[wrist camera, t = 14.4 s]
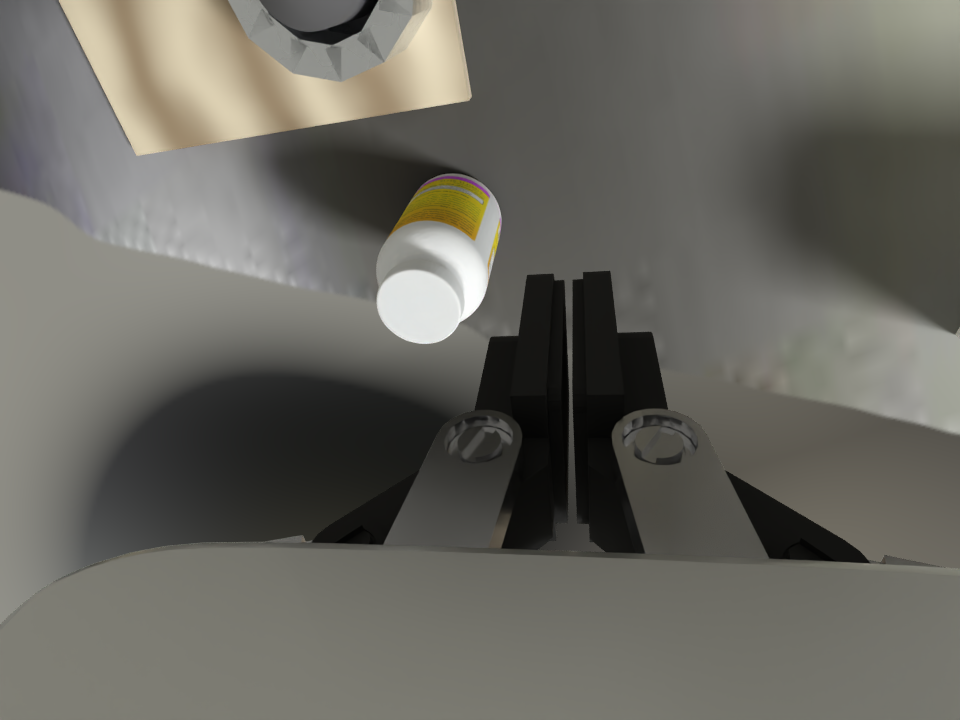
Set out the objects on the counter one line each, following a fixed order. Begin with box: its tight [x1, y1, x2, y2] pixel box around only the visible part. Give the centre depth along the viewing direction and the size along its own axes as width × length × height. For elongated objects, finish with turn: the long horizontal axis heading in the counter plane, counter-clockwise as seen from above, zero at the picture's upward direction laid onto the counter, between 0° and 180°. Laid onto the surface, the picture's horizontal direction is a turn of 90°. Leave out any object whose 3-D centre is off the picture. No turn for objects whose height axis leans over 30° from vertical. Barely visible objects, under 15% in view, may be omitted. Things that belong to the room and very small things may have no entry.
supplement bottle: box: [376, 173, 501, 344], centre depth 36 cm, size 7×7×13 cm
